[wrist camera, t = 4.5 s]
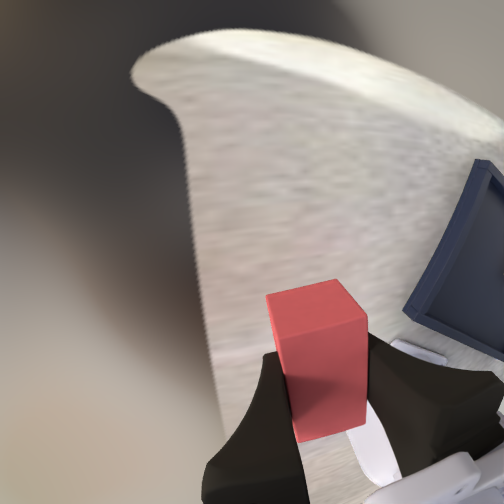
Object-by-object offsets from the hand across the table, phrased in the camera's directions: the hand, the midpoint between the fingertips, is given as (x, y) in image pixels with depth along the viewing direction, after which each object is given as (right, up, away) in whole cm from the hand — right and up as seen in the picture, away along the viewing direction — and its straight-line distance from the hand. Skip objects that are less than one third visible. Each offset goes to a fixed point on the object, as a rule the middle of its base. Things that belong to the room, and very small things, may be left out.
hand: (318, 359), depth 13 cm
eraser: (0, 0, +1) cm, 1 cm away
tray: (+21, +2, +9) cm, 23 cm away
